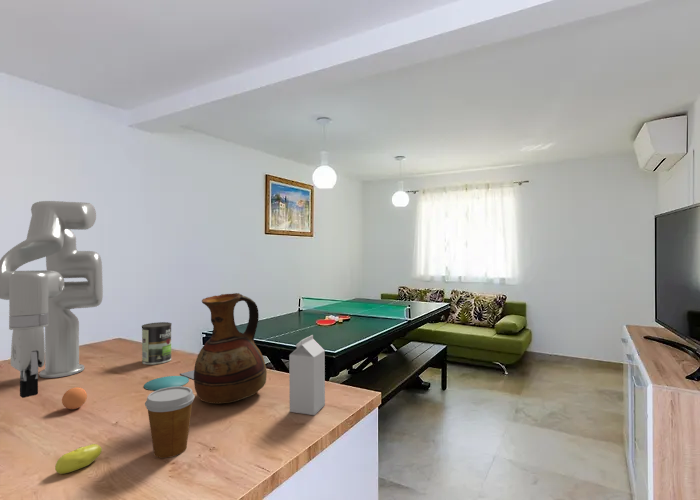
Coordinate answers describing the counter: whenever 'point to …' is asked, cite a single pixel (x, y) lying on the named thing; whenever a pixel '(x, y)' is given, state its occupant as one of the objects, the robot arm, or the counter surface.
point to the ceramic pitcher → (229, 354)
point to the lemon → (77, 458)
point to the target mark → (166, 382)
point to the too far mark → (189, 374)
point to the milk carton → (307, 377)
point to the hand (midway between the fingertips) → (28, 395)
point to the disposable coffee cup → (169, 419)
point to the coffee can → (156, 343)
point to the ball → (74, 398)
